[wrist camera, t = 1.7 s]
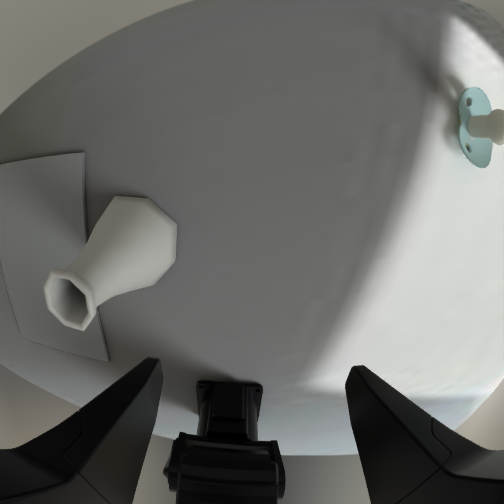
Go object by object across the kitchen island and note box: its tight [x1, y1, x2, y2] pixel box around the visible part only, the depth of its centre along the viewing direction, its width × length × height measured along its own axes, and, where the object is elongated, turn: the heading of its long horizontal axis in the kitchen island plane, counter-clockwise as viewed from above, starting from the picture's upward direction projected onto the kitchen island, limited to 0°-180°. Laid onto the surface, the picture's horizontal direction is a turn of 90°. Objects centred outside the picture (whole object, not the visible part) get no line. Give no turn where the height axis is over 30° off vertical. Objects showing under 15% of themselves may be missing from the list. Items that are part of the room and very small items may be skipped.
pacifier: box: [458, 87, 504, 168], centre depth 15 cm, size 7×6×6 cm
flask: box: [43, 196, 177, 331], centre depth 16 cm, size 7×7×10 cm
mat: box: [0, 152, 110, 362], centre depth 21 cm, size 20×13×1 cm, turn 175°
